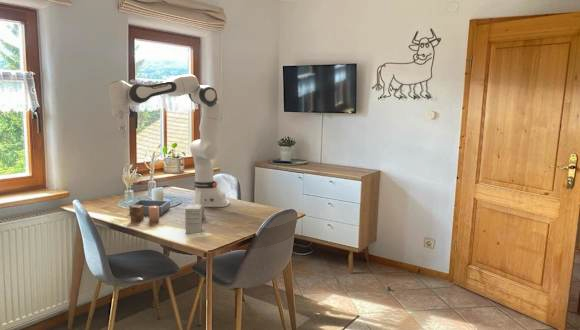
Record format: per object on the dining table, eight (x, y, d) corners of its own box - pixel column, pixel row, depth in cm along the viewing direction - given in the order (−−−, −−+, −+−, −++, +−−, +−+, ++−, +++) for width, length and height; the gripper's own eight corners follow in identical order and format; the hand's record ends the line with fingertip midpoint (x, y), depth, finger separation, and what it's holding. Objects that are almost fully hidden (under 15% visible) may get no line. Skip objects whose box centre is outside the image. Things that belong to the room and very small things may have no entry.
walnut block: (143, 219, 236) (143, 205, 235) (140, 222, 231) (139, 207, 230) (134, 219, 236) (134, 204, 235) (130, 222, 231) (130, 207, 230)
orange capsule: (160, 220, 235) (160, 205, 234) (156, 223, 230) (156, 208, 229) (151, 220, 236) (150, 205, 234) (147, 222, 231) (147, 207, 229)
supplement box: (187, 229, 222) (186, 204, 220) (202, 229, 223) (202, 204, 221) (185, 233, 215) (184, 208, 213) (200, 233, 215) (200, 208, 213)
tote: (169, 209, 258) (169, 200, 257) (161, 215, 244) (161, 207, 243) (139, 207, 259) (139, 199, 258) (129, 214, 245) (129, 205, 244)
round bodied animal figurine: (181, 220, 236) (180, 205, 234) (199, 216, 244) (199, 201, 243) (189, 223, 231) (188, 208, 230) (207, 219, 240) (207, 204, 238)
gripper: (126, 109, 226) (130, 135, 227) (126, 113, 245) (129, 138, 246) (113, 109, 224) (117, 137, 225) (114, 114, 243) (117, 139, 244)
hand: (123, 137), depth 236 cm, fingers open, 8 cm apart
